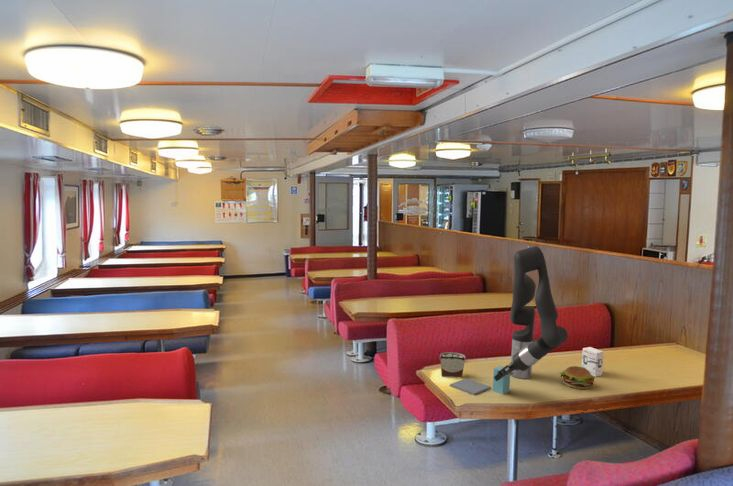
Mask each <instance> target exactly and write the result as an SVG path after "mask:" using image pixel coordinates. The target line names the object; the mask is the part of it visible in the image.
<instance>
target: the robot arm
mask: <svg viewBox="0 0 733 486" xmlns="http://www.w3.org/2000/svg"><path fill="white" fill-rule="evenodd" d="M513 271H514V278H513V284H512V303H511V307H510V308H511V309H510V313H509V314H510V315H509V318H510V322H511V324H513V325H516V326H525V327H524V328H522V329H520V330H516V331H513V333H512V335H511V336H512V337H511V339H512V340H511V354H510V355H511V356H510V362H509V363H508V364H506V365H505V366H503V367H504V368H503V369H501V370H500V371H498V372H497V373H498V374H497V375H495V376H494V378H495V380H496V381H498V380H500V379H501V378H502V377H504V376H506V375H510V376H512V377H513V378H517V379H522V380H523V379H525V380H526V379H530V378H532V377H531V376H532V373H533V372H532V371H533V370H532V369H533V366H534V365H535V364H537V363H538V362H539V361H540V360H541V359H542V358H544V357H545V356H546V355H548V354H549V353H550V352H552V351H553V350H555V349H557V348H558V347H560V346H562V345H563V344H564V343H566V342H567V340H568V337H569V335H568V331H567V329H566V328H565V327H563V326H561V325H557V321H558V318H559V313H558V311H557V307H556V303H555V302H554V299H553V294H552V289H551V285H550V284H551V283H550V279H549V274H548V273H549V272H548V268H547V263H546V259H545V255H544V253H543V251H542V249H541V248H540V247H539V246H536V245H535V246H531V247H528V248H523V249H520V250H518V251H516V252H515V253H514V255H513ZM533 271H537V274H538V284H537V285H536V282H535V281H534V279H533V278H532V277H530V275H528V274H527V273H530V272H533ZM536 286H537V287H536ZM536 288H537V289H536ZM533 299H534V300H535V301H534V302H535V306H532V305H528V304H529V303H531V302H532V301H533ZM535 309H536V310H535ZM536 311H537V315H538V317H539V320H540V321H539V322H540V324H539V325H540V331H541V332H540V333H541V336H540V337H539V338H536V339H534V328H535V319H536ZM502 372H503V373H502ZM508 372H510V373H508Z"/></svg>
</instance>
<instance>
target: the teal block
mask: <svg viewBox="0 0 733 486" xmlns="http://www.w3.org/2000/svg"><path fill="white" fill-rule="evenodd" d="M504 367H505V366H502V365H499V366H496V367H494V368H493V377H492V378H493V379H492V391H493V392H495V393H498V394H501V395H504V394H507V393H509V392H510V383H511V375H506V376H504V377H502V378H501V379H500V380H498V381H496V380H495V378H494V376H495V375H497V374H498V373H497V372H498V371H500V370H501V369H503V368H504ZM502 373H503V372H502ZM508 373H510V372H508Z"/></svg>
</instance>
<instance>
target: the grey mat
mask: <svg viewBox="0 0 733 486" xmlns="http://www.w3.org/2000/svg"><path fill="white" fill-rule="evenodd" d="M449 387H451V388H453V389H457V390H459V391H461V392H465V393H467V394H469V395H473V396H476V395H478V394H480V393H483V392H485V391H488V390H490V389H492V386H490V385H487V384H484V383H482V382H480V381H475V380H473V379H471V378H468V377H467V378H463V379H461V380H458V381H455V382H452V383H449Z"/></svg>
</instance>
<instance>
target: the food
mask: <svg viewBox="0 0 733 486" xmlns="http://www.w3.org/2000/svg"><path fill="white" fill-rule="evenodd" d="M559 374H560V378H562V379H563V381H562V382H563V384H564V385H565V386H567V387H569V388H573V389H576V390H587V389H588V390H589V389H591V388H592V386H593V385H594V382H595V379H596V377H594V376H593V375H591V373H590V372H589V371H588V370H587V369H585V368H582V367H581V366H575V365H574V366H568V367H567V368H565V369H564V370H562V371H561V372H559Z"/></svg>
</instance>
